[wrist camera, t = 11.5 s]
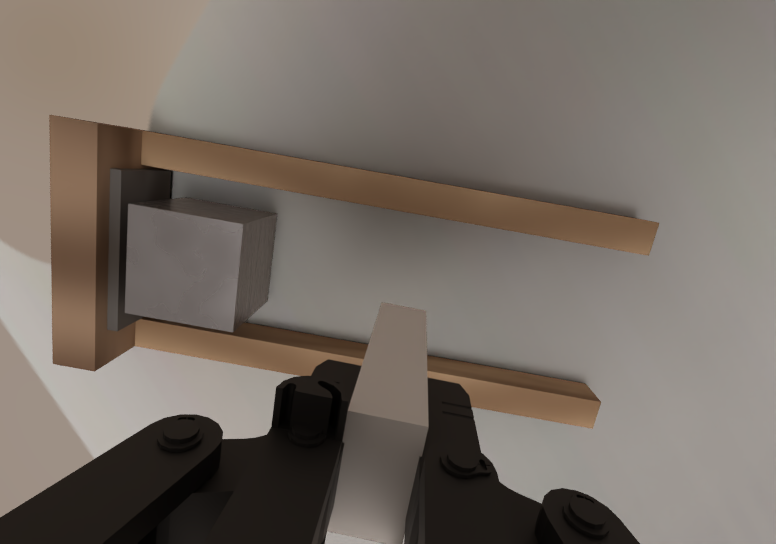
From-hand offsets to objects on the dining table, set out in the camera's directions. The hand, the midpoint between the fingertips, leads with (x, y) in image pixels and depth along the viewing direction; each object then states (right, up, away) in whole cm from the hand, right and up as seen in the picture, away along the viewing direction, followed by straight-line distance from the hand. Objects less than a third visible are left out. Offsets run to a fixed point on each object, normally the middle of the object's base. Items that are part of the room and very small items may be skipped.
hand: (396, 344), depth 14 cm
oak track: (-1, +2, +9) cm, 9 cm away
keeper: (-9, +4, +9) cm, 14 cm away
